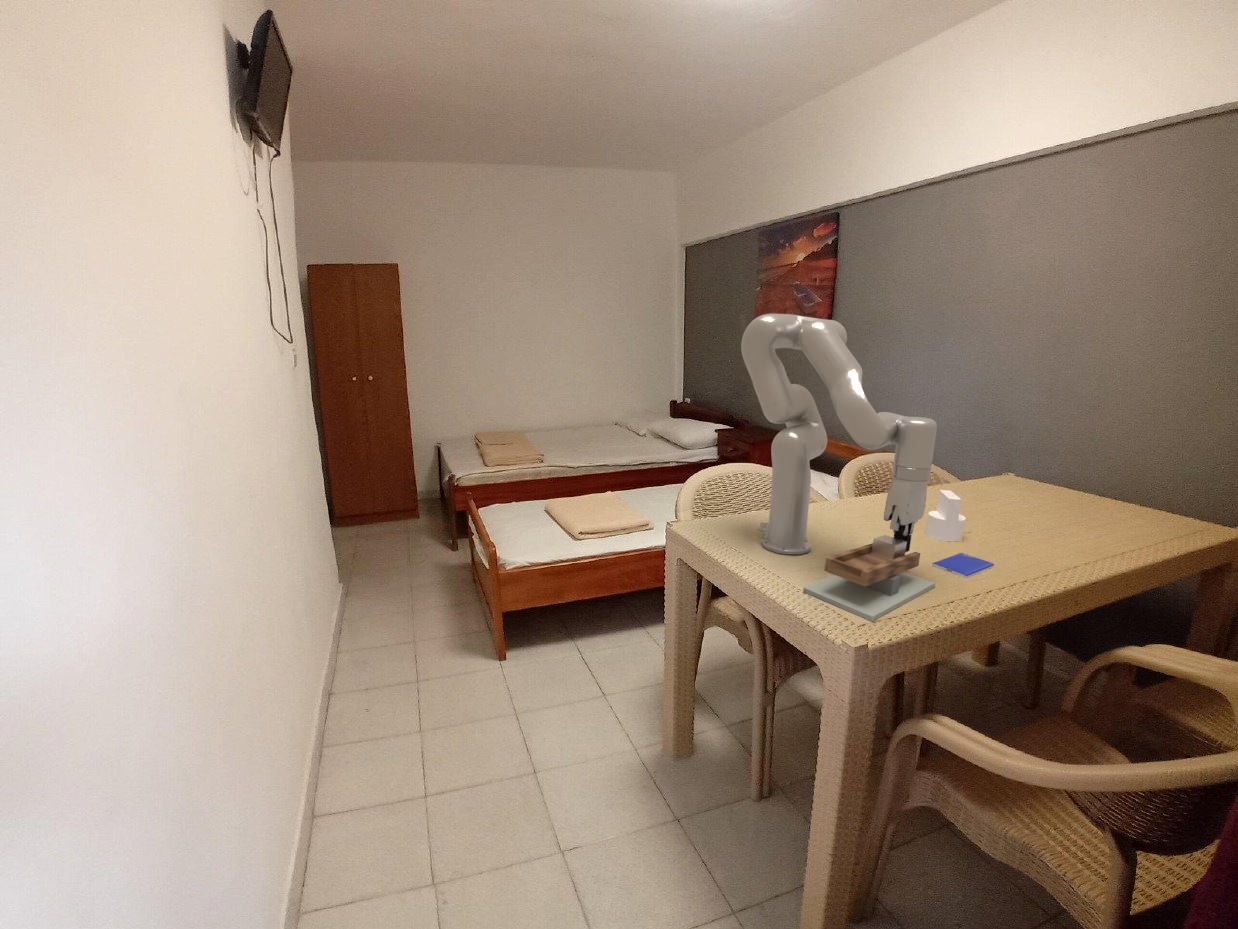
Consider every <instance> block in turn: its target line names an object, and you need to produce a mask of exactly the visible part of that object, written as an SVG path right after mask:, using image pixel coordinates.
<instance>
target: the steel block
mask: <svg viewBox="0 0 1238 929" xmlns="http://www.w3.org/2000/svg"><path fill="white" fill-rule="evenodd" d="M872 543H873V547H872V554H871V556H874V557H877V558H880V559H883V560H886V561H890V560H893V559H896V558H899V557H902V556H904V555H906V552H905V550H906V544H907V541H903V540H900V539H897V538H894V536H890V535H887V534H885V535H881V536H877V537H874V538H873V542H872Z"/></svg>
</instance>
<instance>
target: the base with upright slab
mask: <svg viewBox="0 0 1238 929" xmlns="http://www.w3.org/2000/svg"><path fill="white" fill-rule="evenodd" d="M961 506H962V499H961V498H960V497H959V496H958V495H957V494H956V493H955V492H953V491H952V490H945V489H939V490H938V496H937V501H936V508H935V510H930V511H928V514H927V518H926V519H927V521H926V527H925V535H926V536H927V537H928V538H930V537H931V539H932V538H933V540H935V539H937V540H936V541H939V540H940V541H939V542H944V541H949V542H948V543H955V542H954V541H959V542H961V540H962V541H963V537H964V530H965V525H966V519H967V518H966V516H964V515H962V514H961V513H960V511H961ZM950 541H951V542H950Z"/></svg>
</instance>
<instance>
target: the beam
mask: <svg viewBox="0 0 1238 929" xmlns="http://www.w3.org/2000/svg"><path fill="white" fill-rule="evenodd" d="M872 547H873V542H872V543H868V544H866V545H863V546H858V547H856V548H853V549H849V550H845V551H843V552H841V553H836V554H833V555H830V556H827V557H825V562H824V572H826V573H829V574H832V575H836V576H839V577H842V578H844V579H847V580H849V581H852V582H855V583H857V584H860V585H862V586H868V585H871V584H873V583H876V582H878V581H881V580H884V579H886V578H889V577H891V576H894V575H896V574H899V573H902V572H906V571H909V570H911V569H914V568H917V567H919V565H920V558H921V553H920V552H918V551H913V552H911V553H907V554H905V555H904V556H902V557H899V558H896V559H893V560H890V561H886V560H883V559H880V558H877V557H874V556H871V554H872Z"/></svg>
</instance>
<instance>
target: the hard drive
mask: <svg viewBox="0 0 1238 929" xmlns="http://www.w3.org/2000/svg"><path fill="white" fill-rule="evenodd" d="M931 566H932V567H933V568H936V569H939V568H940V569H939V570H941V569H942V571H944V572H946V573H950V574H952V573H953V575H956V576H958V575H959V576H958V577H961V576H962V577H961V578H964V579H968V578H971V577H972V575H973V576H975V574H976V575H978V574H980V573H979V572H981V573H982V572H985V571H984V570H986V569H988V568H990V569H992V567H993V568H994V566H995V564H994V563H993V562H990V561H987V560H986V559H985V560H984V559H982V558H979V557H976V556H973V555H970V554H967V553H963V552H959V553H957V554H953V555H951V556H948V557H945V558H943V559H939V560H937V561H934V562H932V565H931ZM988 570H989V569H988ZM986 571H987V570H986ZM977 573H978V574H977ZM970 576H971V577H970Z"/></svg>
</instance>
